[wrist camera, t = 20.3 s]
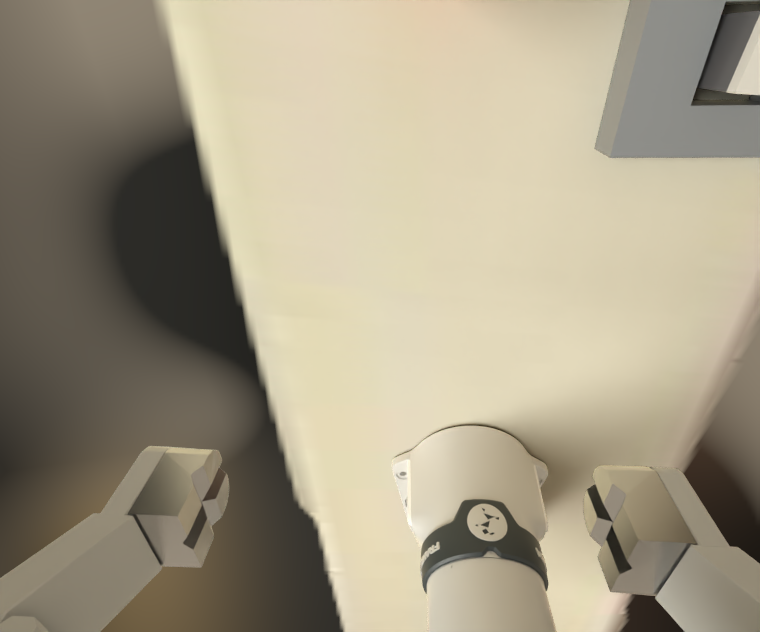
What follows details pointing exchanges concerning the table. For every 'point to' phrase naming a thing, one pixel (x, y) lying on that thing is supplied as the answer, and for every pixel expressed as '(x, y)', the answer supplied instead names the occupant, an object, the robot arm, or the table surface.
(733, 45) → the plug
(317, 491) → the table surface
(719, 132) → the socket
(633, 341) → the table surface
